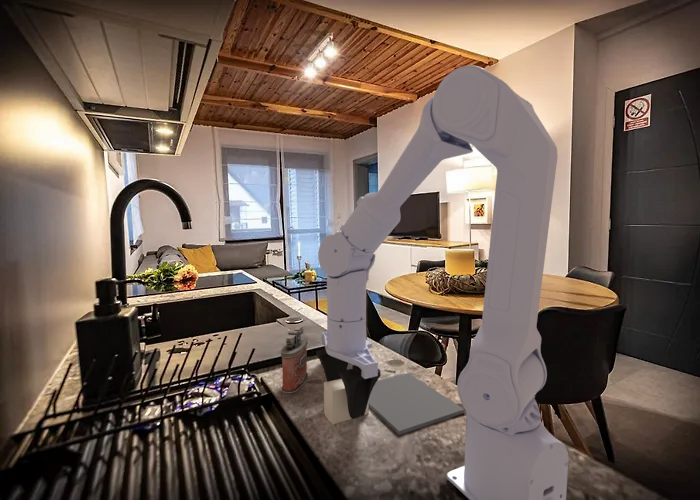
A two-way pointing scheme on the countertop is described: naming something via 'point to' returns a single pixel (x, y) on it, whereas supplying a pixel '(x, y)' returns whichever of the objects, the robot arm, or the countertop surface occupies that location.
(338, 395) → the beige rectangular block
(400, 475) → the countertop surface
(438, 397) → the mat
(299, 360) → the lighter
